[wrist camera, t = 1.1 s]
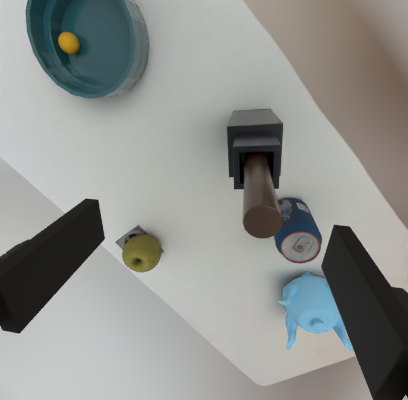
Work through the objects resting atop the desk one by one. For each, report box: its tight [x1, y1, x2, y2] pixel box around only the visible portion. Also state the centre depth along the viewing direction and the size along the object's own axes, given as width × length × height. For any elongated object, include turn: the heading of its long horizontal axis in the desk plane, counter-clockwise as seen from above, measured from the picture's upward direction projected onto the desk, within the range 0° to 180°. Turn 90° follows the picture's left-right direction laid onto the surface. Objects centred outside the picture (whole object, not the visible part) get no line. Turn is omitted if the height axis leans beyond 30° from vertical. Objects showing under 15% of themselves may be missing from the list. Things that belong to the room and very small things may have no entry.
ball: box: [58, 32, 80, 54], centre depth 39 cm, size 3×3×3 cm
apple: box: [122, 235, 161, 272], centre depth 53 cm, size 8×8×7 cm
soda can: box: [274, 198, 322, 263], centre depth 43 cm, size 7×7×12 cm
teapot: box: [279, 272, 354, 350], centre depth 51 cm, size 13×13×10 cm
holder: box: [227, 109, 283, 189], centre depth 33 cm, size 6×6×22 cm
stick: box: [243, 152, 282, 238], centre depth 21 cm, size 2×2×16 cm
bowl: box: [26, 0, 148, 98], centre depth 38 cm, size 16×16×6 cm
